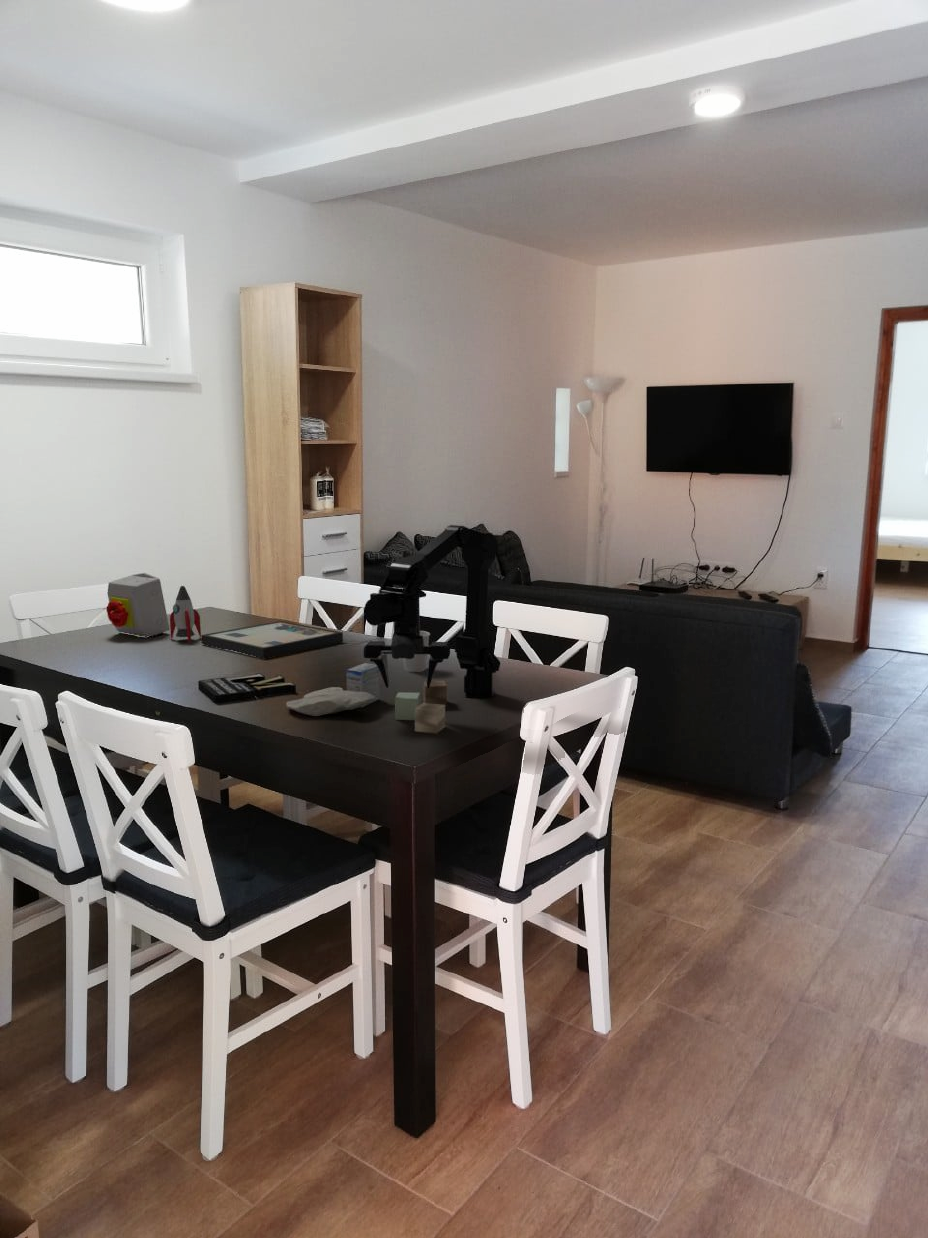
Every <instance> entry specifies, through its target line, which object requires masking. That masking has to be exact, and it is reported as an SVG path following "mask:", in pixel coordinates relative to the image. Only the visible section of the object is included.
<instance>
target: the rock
mask: <svg viewBox="0 0 928 1238" xmlns="http://www.w3.org/2000/svg"><path fill="white" fill-rule="evenodd" d="M374 699H375V696H373V695H371V694H369V693H368V692H353V691H347V690H344V689H343V688H342V687H333V686H332V687H327V688H323V689H319V690H315V691H312V692H309V693H307V694H305V695H303V697H302V698H299V699H294V700H289V701H287V702H285V705H286V708H287V709H288V710H291V711H295V712H297V713H300V714H303V715H306V716H312V717H320V716H323V715H329V714H330V715H331V714H332V713H333V714H337V713H340V712H344V711H349V710H350V711H351V710H352V711H353V710H355V709H357V708H361V707H360V706H362V705H364V704H367V703H369V702H371V701H373V700H374Z"/></svg>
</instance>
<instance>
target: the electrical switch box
mask: <svg viewBox="0 0 928 1238" xmlns="http://www.w3.org/2000/svg"><path fill="white" fill-rule="evenodd" d="M162 587H163V586H162V583H161V580H160V578H159V577H156V576H154V575H151V574H149V573H146V572H142V573H137V574H131V575H128V576H125V577H121V578H119V579H115V580H113V581H110V582H108V585H107V593H106V594H107V597H108V598H107V599H108V604H107V606H106V614H107V618H108V621H109V622H111V624H112V625H113V626H114V627H115V629H116V631H117V632H118V631H119V632H124V633H129V634H134V635H139V636H145V637H147V636H152V637H154V636H153V635H155V636H157V635H161V634H162V633H165V632H168V631H169V630H170V623H169V619H168V613H167V609H166V603H165V599H164V593H163V589H162ZM119 632H118V633H119Z"/></svg>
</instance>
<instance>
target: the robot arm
mask: <svg viewBox="0 0 928 1238" xmlns="http://www.w3.org/2000/svg"><path fill="white" fill-rule="evenodd" d="M457 548H459V549H460V552H461V559H462V560H463V563H464V564H465V567H466V569H467V571H466V573H467V574H466V593H465V594H466V597H465V599H466V601H465V621H464V629H463V631H462V633H461V634H460V635H456V636H455V649H454V653H456V658H457V660H458V663H459V667H460V669H461V670H462V669H463V670H466V672H465V674H464V676H463V693H464V694H465V697H466V698H493V696H494V688H493V687H494V686H493V685H494V684H493V683H494V678H493V677H494V674H495V673H496V672H498V671H500V667H501V661H500V660H499V658H498V657H497V656H496V655H495V653H494V652H493V646H492V645H493V644H492V639H491V637H490V635H489V633H488V632H487V610H488V606H487V605H488V587H489V586H488V585H489V570H490V568H491V566H492V565H493V563H494V562H495V560H496V556H497V551H498V539H497V538H496V536H495V534H493V533H491V532H487V531H485V532H484V531H477V530H473V529H471V528H469V527H466V526H464V525H455V524H449V525H447V526H446V527H445V528H444V530H443V531H442V532H441V533H440V534H439V535H437V536H435V537H434V538H433V539H432V540H431V541H429V542H428V543H427V544H425V545H424V546H423V547H422V548H421V549H420V550H419V551H417V552H416V553H414V554H411V555H409V556H404V557H401V558H400V559H398V560H396V561H393V562H392V563H391V565H390V566H389V567H388V572H387V574H386V576H385V578H384V580H383V582H382V584H381V586H380V588H379V591H378V593H377V592H373V593H370V594H369V600H367V601H366V602H365V604H364V607H363V616H364V618H365V620H366V621H367V623H368V624H369V625H370V626H380V625H385V624H391V623H393V635H392V636H391V637H392V638H391V643H390V645H387V644H386V643H385V640H383V641H382V640H381V641H380V640H379V641H378V640H369V641H368V642H367V643H366V644H365V645H364V647H363V658H364V659H369V662H370V663H371V662H372V663H373V664H374V665H377V666H378V668H379V673H380V675H381V677H382V680H383V682H384V685H385V688H386V689H388V688H389V686H390V683H389V682H390V677H389V668H388V667H389V666H388V656H387V655H391V658H392V659H394V660H398V659H403V658H407V659H412V658H414V654H427V655H429V656H430V658H429V659H428V669H427V670H428V671H427V678H426V681H427V688H429V687H430V684H431V681H433V677H434V674H435V671H436V668H437V666H438V664H441V663H443V661H444V660H447V659H448V660H449V657H450V655H451V644H450V643H449V642H448V641H431V644H430V645H428V646H424V640H423V636H420V631H421V626H420V623H421V622H420V621H421V619H420V617H421V615H420V613H421V611H420V598H426V596H427V593H426V592H425V591H424V590H422V589H421V587H422V585H424V584H425V582H426V581H427V580H428V579H429V577H430V572H431V570H432V569H433V568H434V567H436V565H438V564H439V563H440V562H442V561H443V560H444V559H445V558H446V557H447V556H448V555H450V554H451V553H453V551H455V550H456V549H457Z"/></svg>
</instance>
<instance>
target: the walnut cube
mask: <svg viewBox="0 0 928 1238" xmlns="http://www.w3.org/2000/svg"><path fill="white" fill-rule="evenodd" d="M422 688H423V703H429V704H440V705H445V707H448V699H447V698H448V695H447V694H448V692H447V691H448V687H447V684H446V681H445V680H431V684H430V687H429V688H427V680H425V681H423V687H422Z"/></svg>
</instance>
